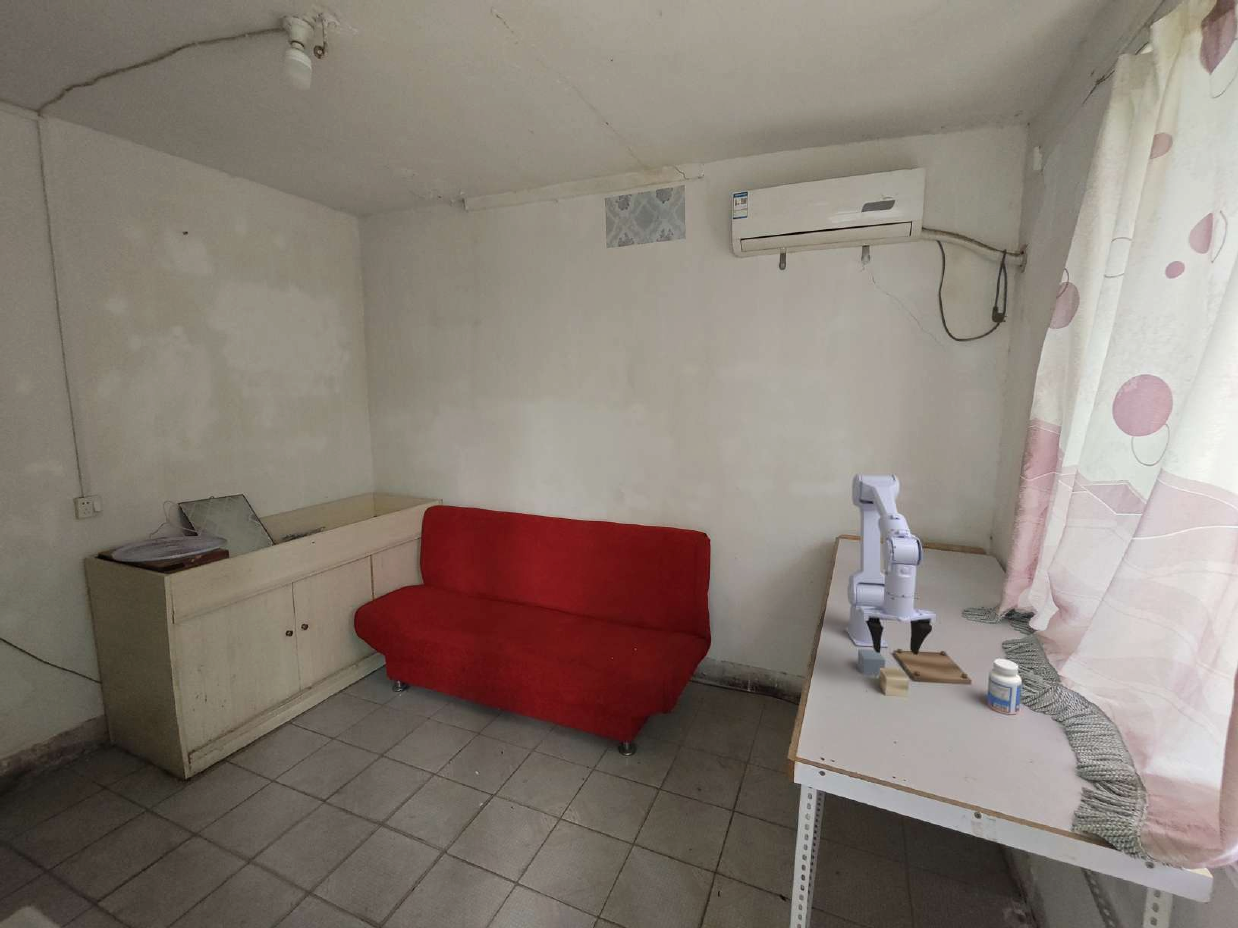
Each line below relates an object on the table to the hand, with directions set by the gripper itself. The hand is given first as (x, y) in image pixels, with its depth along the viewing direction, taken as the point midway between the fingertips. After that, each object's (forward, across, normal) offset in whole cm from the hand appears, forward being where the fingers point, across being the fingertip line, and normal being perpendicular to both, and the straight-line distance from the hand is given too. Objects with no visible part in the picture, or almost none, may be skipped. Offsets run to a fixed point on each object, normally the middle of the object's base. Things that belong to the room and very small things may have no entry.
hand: (895, 651), depth 112 cm
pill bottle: (+9, +20, -4) cm, 22 cm away
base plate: (+9, +12, +10) cm, 18 cm away
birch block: (+9, 0, 0) cm, 9 cm away
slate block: (+9, -2, +8) cm, 12 cm away
